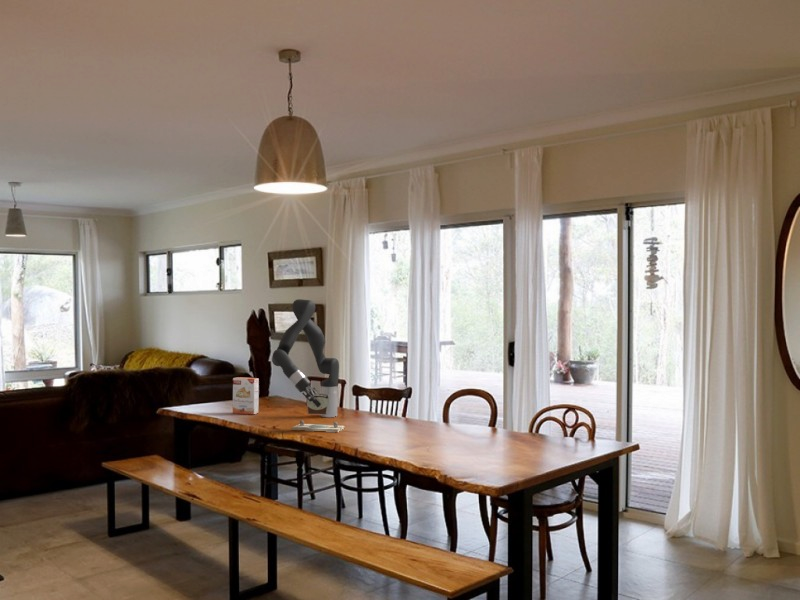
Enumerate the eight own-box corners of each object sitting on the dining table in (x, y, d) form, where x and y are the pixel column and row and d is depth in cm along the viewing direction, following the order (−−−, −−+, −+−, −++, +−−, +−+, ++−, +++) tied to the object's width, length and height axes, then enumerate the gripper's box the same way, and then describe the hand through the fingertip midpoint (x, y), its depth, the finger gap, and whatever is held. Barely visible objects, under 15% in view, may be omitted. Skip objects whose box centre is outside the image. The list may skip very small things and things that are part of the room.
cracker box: (232, 413, 395) (232, 377, 396) (237, 412, 401) (237, 376, 402) (253, 415, 391) (254, 378, 392) (258, 413, 397) (259, 377, 397)
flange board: (300, 426, 354) (300, 418, 354) (344, 428, 349) (344, 420, 349) (291, 430, 343) (292, 422, 343) (337, 432, 338) (337, 424, 338)
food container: (331, 413, 349) (331, 393, 349) (329, 414, 343) (329, 394, 343) (307, 412, 350) (308, 392, 350) (305, 414, 344) (305, 394, 344)
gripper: (300, 377, 341) (322, 401, 338) (309, 374, 355) (331, 398, 352) (289, 387, 342) (311, 412, 339) (300, 384, 356) (321, 408, 353)
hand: (321, 405), depth 346 cm, fingers closed on food container, 6 cm apart
